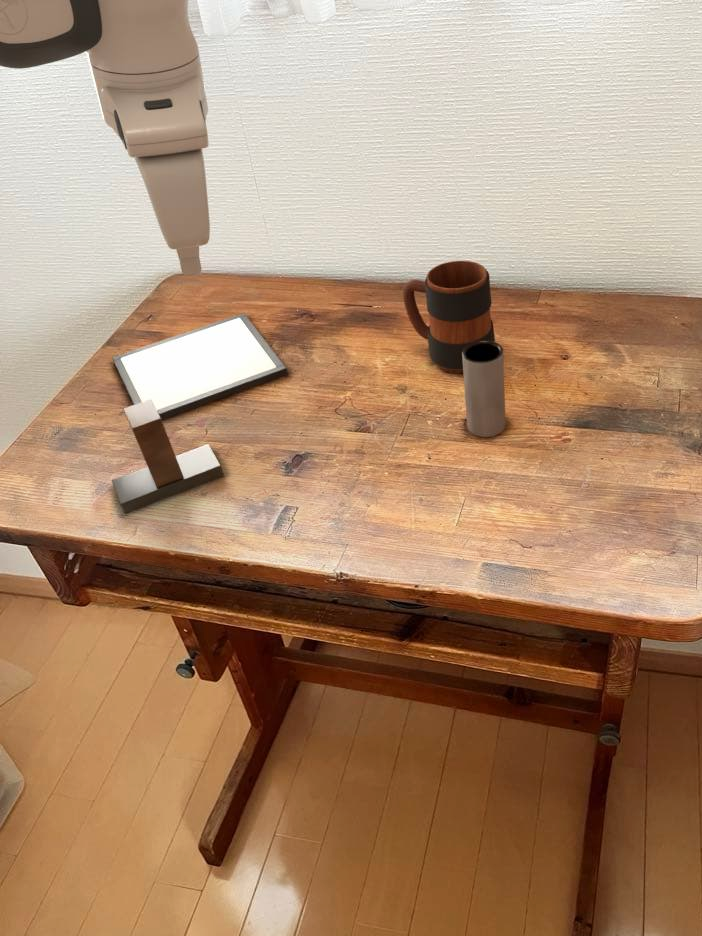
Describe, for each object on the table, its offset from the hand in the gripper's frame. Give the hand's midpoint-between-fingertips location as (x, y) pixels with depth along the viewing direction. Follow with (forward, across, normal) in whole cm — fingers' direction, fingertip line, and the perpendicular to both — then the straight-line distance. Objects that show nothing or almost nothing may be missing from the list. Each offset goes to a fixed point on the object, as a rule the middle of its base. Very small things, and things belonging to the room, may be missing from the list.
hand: (183, 247), depth 80 cm
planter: (+24, +8, +30) cm, 39 cm away
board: (+29, -21, 0) cm, 36 cm away
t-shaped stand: (+28, +2, -7) cm, 28 cm away
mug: (+25, -8, +32) cm, 41 cm away
